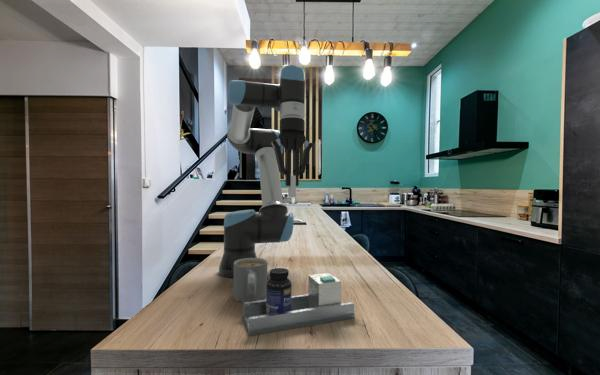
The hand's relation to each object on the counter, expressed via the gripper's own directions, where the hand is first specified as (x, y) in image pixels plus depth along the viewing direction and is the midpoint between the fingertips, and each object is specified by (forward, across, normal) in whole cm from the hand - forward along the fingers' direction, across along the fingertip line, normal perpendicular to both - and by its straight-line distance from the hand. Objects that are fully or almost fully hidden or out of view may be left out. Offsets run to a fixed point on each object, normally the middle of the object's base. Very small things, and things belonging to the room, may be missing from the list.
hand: (291, 197), depth 86 cm
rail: (+29, -3, -15) cm, 33 cm away
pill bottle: (+29, -8, -15) cm, 33 cm away
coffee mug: (+30, -12, +2) cm, 32 cm away
